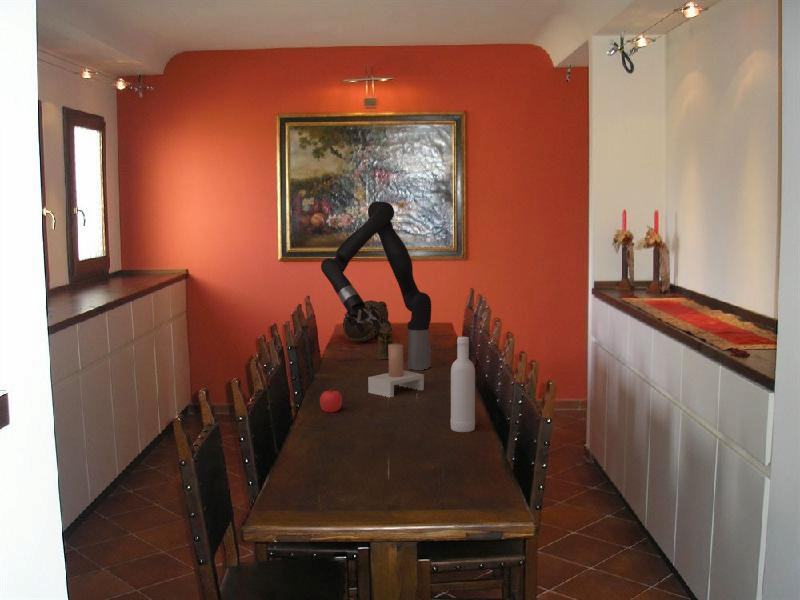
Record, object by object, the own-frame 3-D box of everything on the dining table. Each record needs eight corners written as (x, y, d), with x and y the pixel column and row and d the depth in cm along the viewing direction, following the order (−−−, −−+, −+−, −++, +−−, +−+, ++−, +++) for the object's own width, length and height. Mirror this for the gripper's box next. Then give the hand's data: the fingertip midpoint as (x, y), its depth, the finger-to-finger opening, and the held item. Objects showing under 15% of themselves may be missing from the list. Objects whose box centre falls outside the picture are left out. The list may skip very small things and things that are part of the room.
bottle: (458, 433, 283) (458, 340, 279) (445, 427, 289) (445, 336, 286) (479, 430, 286) (480, 338, 282) (466, 424, 293) (467, 334, 289)
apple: (333, 414, 307) (333, 392, 306) (315, 412, 311) (314, 389, 310) (346, 409, 314) (346, 387, 313) (328, 407, 318) (328, 385, 317)
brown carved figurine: (375, 361, 400) (374, 322, 398) (375, 356, 413) (375, 317, 411) (394, 361, 400) (394, 322, 398) (394, 356, 413) (394, 317, 411)
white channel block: (401, 385, 352) (401, 370, 352) (423, 389, 344) (423, 374, 343) (368, 392, 340) (368, 377, 339) (390, 397, 331) (390, 381, 331)
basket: (344, 308, 478) (331, 307, 444) (382, 290, 476) (371, 287, 442) (363, 348, 476) (351, 349, 442) (401, 330, 474) (392, 330, 439)
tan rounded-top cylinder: (396, 373, 345) (395, 342, 344) (406, 375, 341) (405, 344, 340) (385, 375, 341) (385, 344, 340) (395, 377, 337) (395, 346, 336)
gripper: (342, 295, 351) (362, 327, 344) (368, 291, 361) (388, 322, 354) (333, 307, 355) (353, 339, 349) (359, 303, 365) (379, 334, 359)
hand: (371, 330), depth 351 cm, fingers open, 8 cm apart
